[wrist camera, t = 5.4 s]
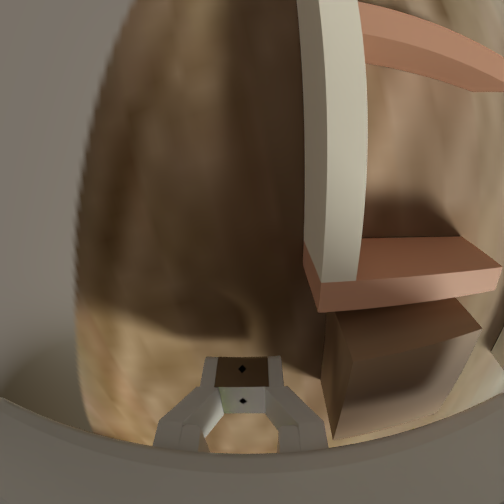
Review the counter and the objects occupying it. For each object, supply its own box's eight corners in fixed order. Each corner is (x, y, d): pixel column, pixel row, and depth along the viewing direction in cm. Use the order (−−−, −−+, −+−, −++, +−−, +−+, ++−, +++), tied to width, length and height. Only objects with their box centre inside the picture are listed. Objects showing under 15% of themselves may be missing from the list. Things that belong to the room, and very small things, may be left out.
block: (326, 291, 11) (353, 361, 8) (435, 277, 11) (482, 328, 7) (319, 377, 14) (333, 440, 10) (411, 359, 13) (437, 412, 10)
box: (282, -93, 4) (289, -131, 1) (534, 12, 4) (564, 9, 1) (292, 394, 14) (298, 440, 11) (498, 349, 14) (517, 374, 11)
